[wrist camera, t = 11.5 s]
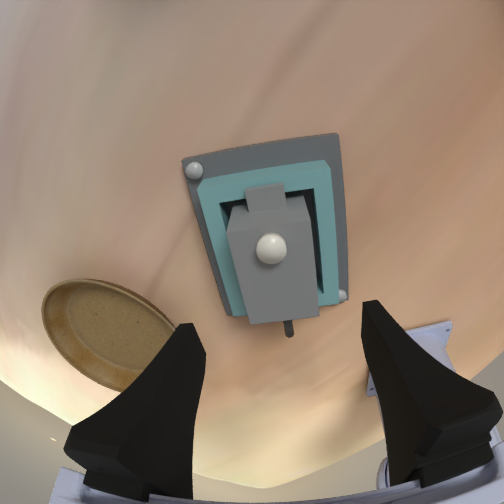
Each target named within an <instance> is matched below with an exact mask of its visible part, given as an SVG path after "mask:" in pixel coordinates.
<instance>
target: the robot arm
mask: <svg viewBox="0 0 504 504" xmlns="http://www.w3.org/2000/svg"><path fill="white" fill-rule="evenodd" d="M452 326H453V324H452V322H451V321H445V322H441V323H437V324H433V325H428V326H424V327H420V328H415V329H411V330H406V331H404V330H403V328H402V327H401V326H400V325H399V324H398V323H397V322H396V321H395V320H394V319H393V318H392V316H391V315H390V314H389V313H388V312H387V311H386V309H385V308H384V307H383V306H382V305H381V303H380V302H379V301H378V300H372V301H366V302H363V308H362V328H361V339H362V344H363V349H364V353H365V358H366V361H367V364H368V367H369V370H370V371H369V378H368V384H367V391H366V394H367V396H375V395H376V398H377V402H378V406H379V411H380V415H381V420H382V424H383V429H384V434H385V438H386V445H387V447H386V450H387V456H388V457H386V458H384V459H383V460H382V462H381V464H380V466H379V469H378V472H377V477H376V487H377V490H374V491H369V492H364V493H358V494H353V495H347V496H340V497H333V498H325V499H317V500H307V501H294V502H278V503H277V502H275V503H233V502H232V503H231V502H214V501H201V500H193V489H192V488H193V485H192V456H193V438H194V426H195V419H196V413H197V408H198V404H199V399H200V394H201V390H202V385H203V380H204V375H205V364H206V352H205V350H204V348H203V346H202V343H201V341H200V339H199V336H198V334H197V332H196V329H195V327H194V325H193V323H185V324H179V326H178V327H177V328H176V330H175V331H174V332H173V334H172V335H171V336H170V338H169V339H168V340H167V342H166V343H165V344H164V346H163V347H162V348H161V350H160V351H159V352H158V354H157V355H156V356H155V357H154V359H153V360H152V361H151V362H150V364H149V365H148V366H147V367H146V368H145V369H144V371H143V372H142V373H141V374H140V375H139V376H138V377H137V378H136V379H135V380H134V381H133V382H132V383H131V384H130V385H129V386H128V387H127V388H126V389H125V390H124V391H123V392H122V393H121V394H119V395H118V396H117V397H116V398H115V399H113V400H112V401H111V402H110V403H109V404H107V405H106V406H104V407H103V408H102V409H100V410H99V411H97V412H96V413H94V414H93V415H91V416H90V417H88V418H86V419H84V420H83V421H81V422H79V423H77V424H76V425H74V426H72V428H71V430H70V433H69V436H68V438H67V440H66V443H65V446H64V451H65V453H66V454H67V456H69V457H70V458H71V459H72V460H74V461H75V462H77V463H78V464H79V465H81V466H82V467H83V468H85V469H86V470H87V471H86V474H85V475H84V474H82V473H80V472H77V471H74V470H71V469H68V468H65V467H61V468H60V471H59V474H58V477H57V480H56V483H55V486H54V489H53V492H52V495H51V499H50V502H49V504H500V503H502V502H504V441H501V439H500V436H499V433H498V431H497V428H496V426H495V425H496V424H497V423H498V422H499V420H500V418H501V417H502V414H503V410H502V408H501V406H500V403H499V401H498V399H497V397H496V396H495V394H494V392H492V391H490V390H488V389H486V388H483V387H481V386H479V385H476V384H474V383H473V382H471V381H469V380H467V379H465V378H463V377H462V376H460V375H458V374H457V373H456V371H455V369H454V367H453V365H452V363H451V360H450V358H449V356H448V354H447V352H446V350H445V347H446V344H447V341H448V338H449V335H450V332H451V329H452Z"/></svg>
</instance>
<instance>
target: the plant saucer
mask: <svg viewBox="0 0 504 504" xmlns="http://www.w3.org/2000/svg"><path fill="white" fill-rule="evenodd" d="M41 312H42V320H43V324H44V328H45V330H46V332H47V334H48V337H49V338H50V340H51V341H52V343H53V345H54V346H55V347H56V349H57V350H58V351H59V353H60V354H61V355H62V356H63V357H64V358H65V359H66V360H67V361H68V362H69V363H70V364H71V365H72V366H73V367H74V368H76V369H77V370H78V371H79V372H81V373H82V374H83V375H85V376H86V377H88V378H90V379H91V380H93V381H95V382H97V383H98V384H100V385H102V386H105V387H107V388H109V389H112V390H115V391H118V392H121V393H122V392H123V391H124V390H125V389H126V388H127V387H128V386H129V385H130V384H131V383H132V382H133V381H134V380H135V379H136V378H137V377H138V376H139V375H140V374H141V373H142V372H143V371H144V369H145V368H146V367H147V366H148V365H149V364H150V362H151V361H152V360H153V359H154V357H155V356H156V355H157V354H158V352H159V351H160V350H161V348H162V347H163V346H164V344H165V343H166V342H167V340H168V339H169V338H170V336H171V335H172V334H173V332H174V331H175V330H176V328H175V327H174V326H173V324H172V323H171V322H170V321H169V320H168V318H167V317H166V316H165V315H164V314H163V313H162V312H161V311H160V310H159V309H158V308H157V307H155V306H154V305H153V304H152V303H150V302H149V301H148V300H146V299H145V298H143V297H142V296H140V295H138V294H137V293H135V292H133V291H131V290H129V289H127V288H124V287H122V286H119V285H116V284H113V283H110V282H106V281H102V280H95V279H74V280H67V281H63V282H60V283H58V284H56V285H54V286H53V287H52V288H51V289H50V290H49V291H48V292H47V294H46V295H45V297H44V299H43V302H42V308H41Z"/></svg>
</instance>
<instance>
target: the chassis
mask: <svg viewBox="0 0 504 504" xmlns="http://www.w3.org/2000/svg"><path fill="white" fill-rule="evenodd" d="M182 165H183V168H184V172H185V176H186V180H187V183H188V187H189V190H190V194H191V198H192V201H193V205H194V208H195V212H196V215H197V219H198V222H199V226H200V229H201V233H202V236H203V239H204V243H205V246H206V249H207V253H208V256H209V259H210V263H211V266H212V269H213V272H214V276H215V279H216V282H217V285H218V289H219V292H220V295H221V298H222V301H223V304H224V308H225V311H226V314H227V315H233V316H234V317H236V316H246V315H248V314H247V311H246V307H245V303H244V299H243V296H242V292H241V288H240V284H239V281H238V277H237V273H236V269H235V265H234V261H233V258H232V254H231V250H230V246H229V242H228V238H227V234H226V231H227V227H228V223H229V220H230V216H231V212H232V208H233V204H234V201H235V200H239V199H245V198H246V196H245V188H249V187H255V186H262V185H268V184H274V183H281V182H283V185H284V191H285V192H290V191H297V190H302V192H303V196H304V199H305V203H306V206H307V210H308V213H309V216H310V220H311V228H312V237H313V247H314V257H315V267H316V278H317V289H318V302H319V306H325V305H332V304H338V303H342V302H344V301H345V300H348V249H347V227H346V210H345V196H344V183H343V172H342V162H341V152H340V143H339V135H338V134H337V133H331V134H322V135H314V136H306V137H298V138H291V139H284V140H278V141H271V142H265V143H259V144H253V145H247V146H242V147H236V148H231V149H226V150H221V151H216V152H211V153H206V154H201V155H197V156H192V157H188V158H184V159H183V160H182Z"/></svg>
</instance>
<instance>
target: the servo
mask: <svg viewBox="0 0 504 504" xmlns="http://www.w3.org/2000/svg"><path fill="white" fill-rule="evenodd" d="M245 196H246V198H245V199H239V200H235V201H234V204H233V208H232V212H231V216H230V220H229V223H228V227H227V231H226V234H227V238H228V242H229V246H230V250H231V254H232V258H233V261H234V265H235V269H236V273H237V277H238V281H239V284H240V288H241V292H242V296H243V299H244V303H245V307H246V311H247V314H248V318H249V322H250V325H251V324H261V323H269V322H278V321H283V324H284V329H285V335H286V336H287V337H288V338H291V337H293V335H294V330H293V323H292V320H294V319H302V318H309V317H317V316H320V315H319V302H318V289H317V278H316V267H315V257H314V247H313V237H312V228H311V220H310V216H309V213H308V210H307V206H306V203H305V199H304V196H303V192H302V190H297V191H290V192H285V191H284V185H283V182H281V183H274V184H268V185H262V186H255V187H249V188H245Z"/></svg>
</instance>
